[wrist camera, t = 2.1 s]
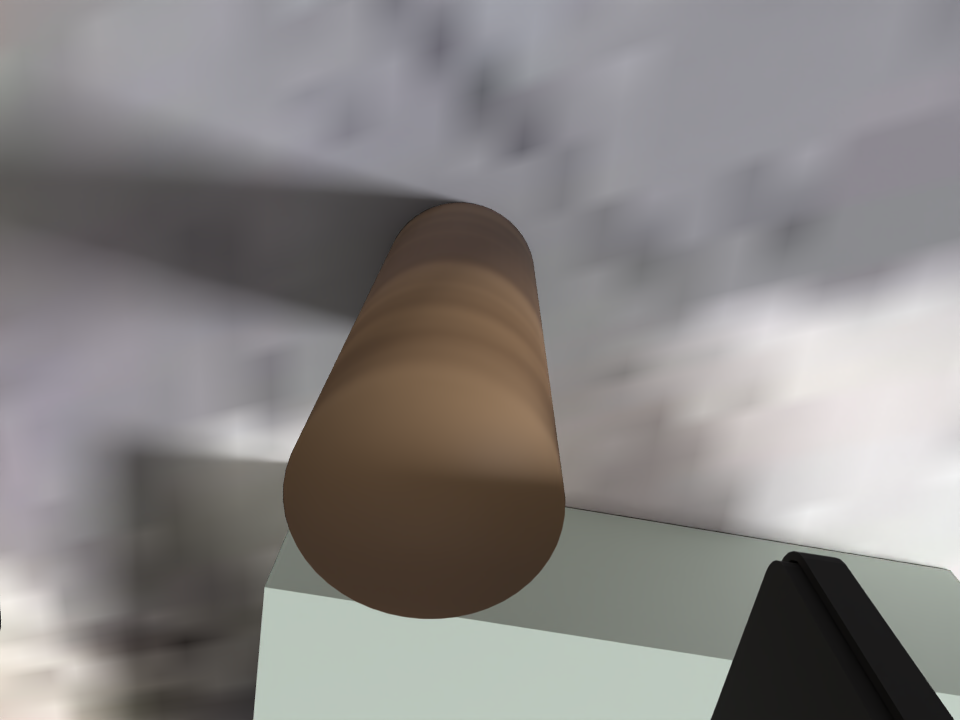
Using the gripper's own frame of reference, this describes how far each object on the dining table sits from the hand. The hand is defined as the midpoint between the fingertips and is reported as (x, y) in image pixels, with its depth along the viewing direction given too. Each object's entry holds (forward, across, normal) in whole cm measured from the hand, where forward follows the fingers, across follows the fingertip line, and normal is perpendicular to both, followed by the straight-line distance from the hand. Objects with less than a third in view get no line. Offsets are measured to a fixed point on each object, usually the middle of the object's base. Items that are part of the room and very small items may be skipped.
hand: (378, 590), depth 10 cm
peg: (+11, 0, -1) cm, 11 cm away
